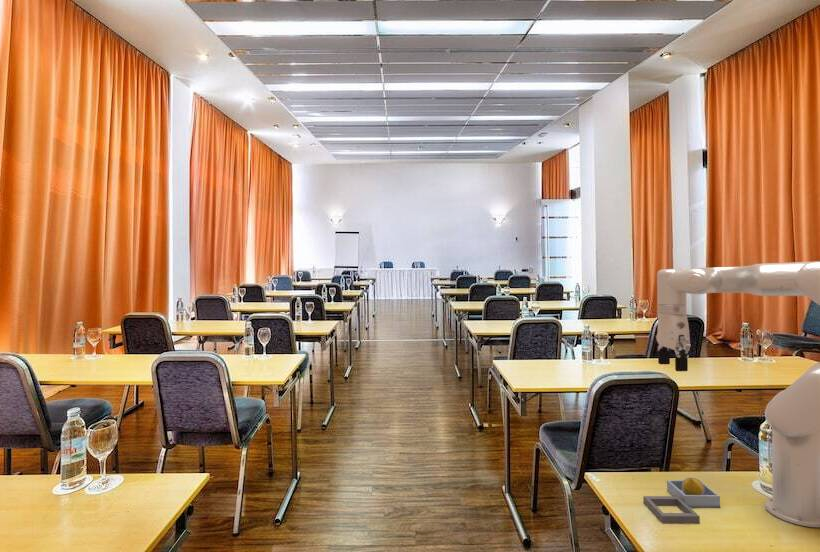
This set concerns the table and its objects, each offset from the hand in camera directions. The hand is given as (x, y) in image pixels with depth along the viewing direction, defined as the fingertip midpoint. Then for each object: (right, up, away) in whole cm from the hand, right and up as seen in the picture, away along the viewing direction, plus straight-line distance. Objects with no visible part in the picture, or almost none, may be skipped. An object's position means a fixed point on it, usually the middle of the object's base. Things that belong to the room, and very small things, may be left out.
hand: (672, 367), depth 136 cm
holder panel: (-11, -34, -19) cm, 40 cm away
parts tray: (-1, -34, -12) cm, 36 cm away
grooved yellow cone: (-1, -33, -13) cm, 35 cm away
